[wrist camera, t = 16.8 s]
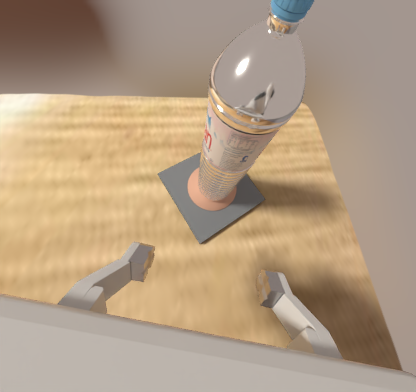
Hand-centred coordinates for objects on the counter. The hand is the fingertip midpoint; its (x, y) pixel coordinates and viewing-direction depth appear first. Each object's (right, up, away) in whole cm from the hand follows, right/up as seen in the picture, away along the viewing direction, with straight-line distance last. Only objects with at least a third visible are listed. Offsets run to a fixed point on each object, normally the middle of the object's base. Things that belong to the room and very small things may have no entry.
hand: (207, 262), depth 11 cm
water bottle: (+1, +7, +19) cm, 21 cm away
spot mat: (+1, +7, +20) cm, 21 cm away
